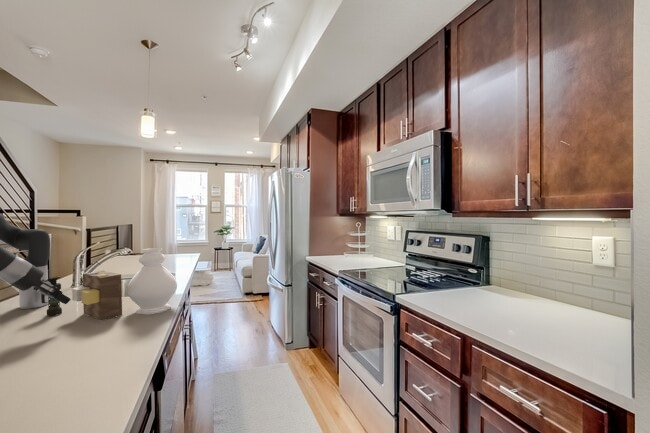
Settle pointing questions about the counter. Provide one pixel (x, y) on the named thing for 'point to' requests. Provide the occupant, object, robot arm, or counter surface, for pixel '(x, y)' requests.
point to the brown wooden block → (104, 294)
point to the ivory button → (78, 293)
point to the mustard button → (90, 296)
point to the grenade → (54, 307)
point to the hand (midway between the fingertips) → (67, 301)
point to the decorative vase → (152, 283)
